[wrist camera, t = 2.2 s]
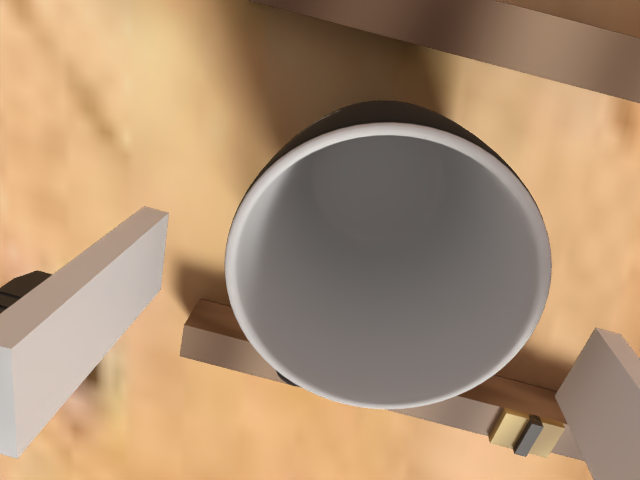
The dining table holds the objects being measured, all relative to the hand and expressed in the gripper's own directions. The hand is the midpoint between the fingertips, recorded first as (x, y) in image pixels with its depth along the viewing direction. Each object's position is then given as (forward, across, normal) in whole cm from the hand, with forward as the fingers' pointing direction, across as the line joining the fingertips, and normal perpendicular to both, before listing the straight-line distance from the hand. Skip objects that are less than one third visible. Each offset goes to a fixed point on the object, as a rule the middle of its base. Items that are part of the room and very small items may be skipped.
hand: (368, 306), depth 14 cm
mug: (+9, 0, 0) cm, 9 cm away
